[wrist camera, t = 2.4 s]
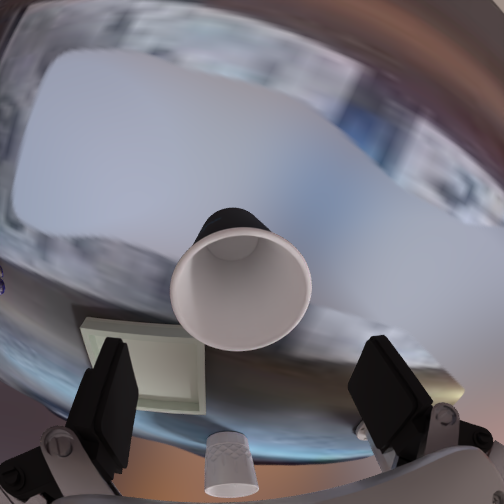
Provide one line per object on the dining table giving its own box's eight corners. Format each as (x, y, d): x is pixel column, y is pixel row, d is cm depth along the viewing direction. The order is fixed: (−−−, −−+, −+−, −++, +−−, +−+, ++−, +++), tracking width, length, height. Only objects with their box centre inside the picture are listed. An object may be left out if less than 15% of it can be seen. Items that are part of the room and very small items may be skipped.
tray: (204, 325, 29) (204, 338, 27) (205, 403, 34) (206, 414, 32) (86, 316, 27) (80, 327, 25) (110, 394, 32) (107, 405, 30)
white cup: (237, 452, 41) (243, 499, 31) (195, 445, 38) (196, 494, 29) (259, 433, 38) (269, 485, 29) (214, 425, 36) (217, 481, 27)
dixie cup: (185, 192, 23) (161, 231, 13) (276, 190, 24) (319, 226, 14) (190, 275, 26) (179, 354, 16) (273, 272, 27) (304, 346, 17)
